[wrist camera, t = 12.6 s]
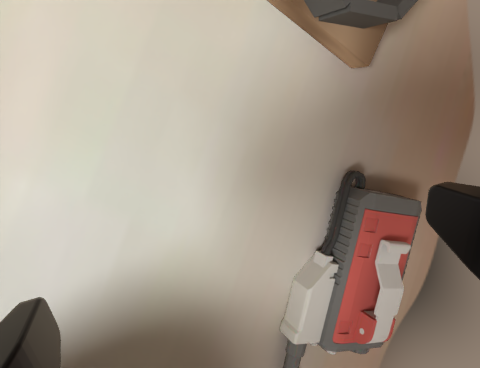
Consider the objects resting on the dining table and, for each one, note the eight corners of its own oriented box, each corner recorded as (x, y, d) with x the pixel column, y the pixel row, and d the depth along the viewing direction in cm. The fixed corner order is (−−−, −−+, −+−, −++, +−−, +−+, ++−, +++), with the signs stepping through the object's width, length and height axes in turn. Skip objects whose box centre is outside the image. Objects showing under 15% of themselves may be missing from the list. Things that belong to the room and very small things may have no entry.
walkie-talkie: (314, 161, 25) (252, 426, 27) (362, 172, 21) (285, 480, 23) (399, 180, 29) (339, 408, 31) (452, 191, 25) (380, 451, 27)
